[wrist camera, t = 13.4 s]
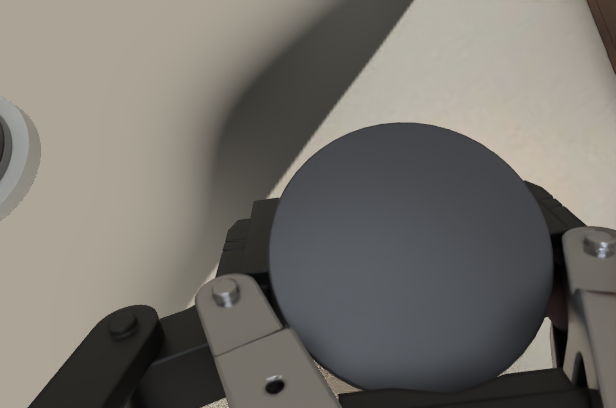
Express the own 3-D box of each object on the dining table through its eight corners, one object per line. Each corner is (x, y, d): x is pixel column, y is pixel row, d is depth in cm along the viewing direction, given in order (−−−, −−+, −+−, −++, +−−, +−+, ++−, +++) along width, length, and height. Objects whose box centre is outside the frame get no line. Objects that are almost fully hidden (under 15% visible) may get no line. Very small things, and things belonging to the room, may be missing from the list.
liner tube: (293, 350, 18) (230, 352, 8) (327, 222, 19) (307, 99, 10) (430, 389, 17) (536, 443, 7) (455, 253, 18) (570, 150, 9)
